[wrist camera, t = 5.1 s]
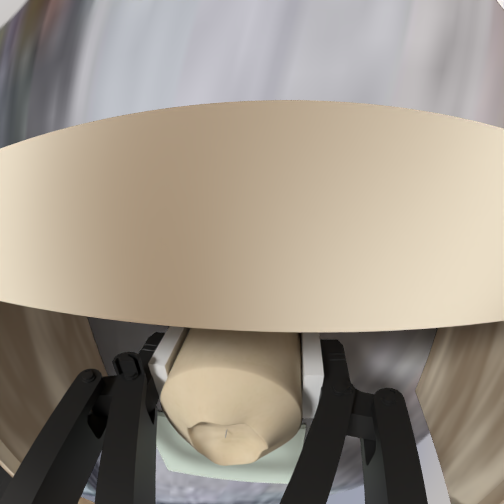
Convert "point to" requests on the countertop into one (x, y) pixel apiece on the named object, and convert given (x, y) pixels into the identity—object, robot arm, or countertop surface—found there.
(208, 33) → the countertop surface
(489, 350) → the access cubby
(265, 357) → the candle
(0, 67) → the countertop surface
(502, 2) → the champagne flute
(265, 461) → the mat
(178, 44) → the countertop surface
